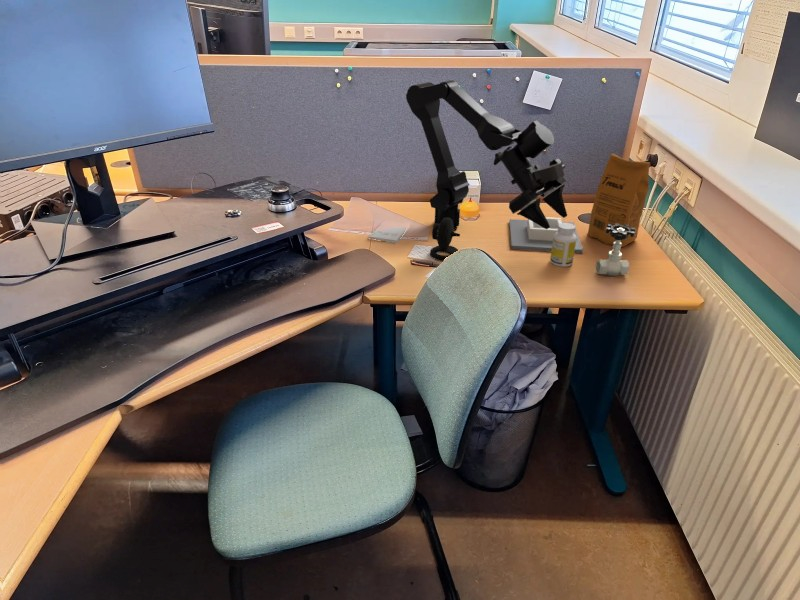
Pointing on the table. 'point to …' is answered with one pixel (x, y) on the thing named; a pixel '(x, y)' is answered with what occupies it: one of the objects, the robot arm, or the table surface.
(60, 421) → the table surface
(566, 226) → the supplement bottle
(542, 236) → the socket board
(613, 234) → the valve
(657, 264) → the table surface
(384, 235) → the external hard drive
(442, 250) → the webcam
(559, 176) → the robot arm
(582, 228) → the table surface
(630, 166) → the coffee package
